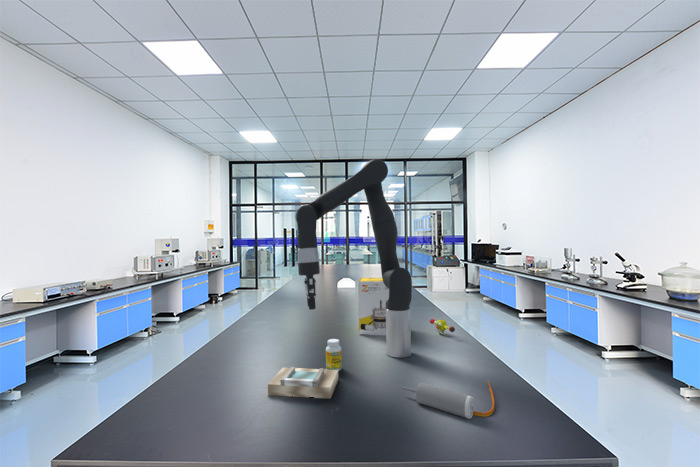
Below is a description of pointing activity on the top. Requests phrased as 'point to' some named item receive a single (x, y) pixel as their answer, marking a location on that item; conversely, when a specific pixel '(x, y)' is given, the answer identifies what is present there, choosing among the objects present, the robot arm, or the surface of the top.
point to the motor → (448, 400)
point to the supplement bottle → (333, 355)
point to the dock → (304, 383)
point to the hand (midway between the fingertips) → (311, 307)
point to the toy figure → (442, 326)
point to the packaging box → (372, 306)
